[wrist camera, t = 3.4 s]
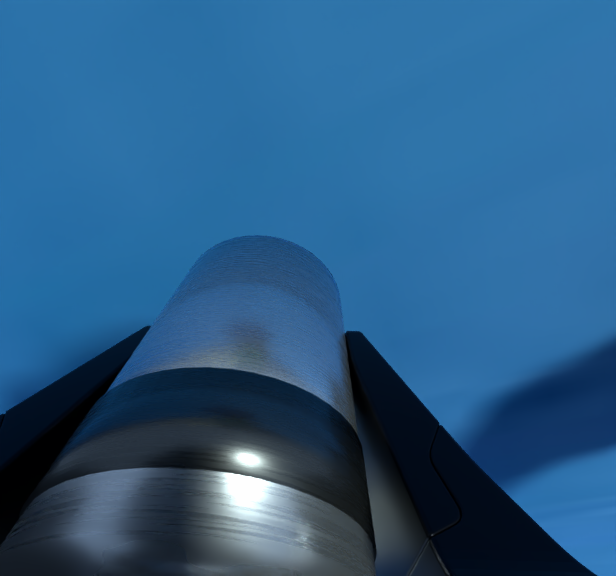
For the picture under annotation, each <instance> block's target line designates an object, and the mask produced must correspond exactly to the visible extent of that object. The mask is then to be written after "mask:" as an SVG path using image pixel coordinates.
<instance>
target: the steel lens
mask: <svg viewBox="0 0 616 576" xmlns="http://www.w3.org/2000/svg"><path fill="white" fill-rule="evenodd" d="M376 555H377V550H376V542H375V535H374V528H373V521H372V514H371V506H370V499H369V492H368V485H367V478H366V470H365V463H364V456H363V449H362V445H361V442H360V440H359V437H358V431H357V424H356V416H355V408H354V401H353V393H352V385H351V378H350V370H349V362H348V355H347V347H346V340H345V332H344V324H343V317H342V309H341V301H340V294H339V290H338V287H337V284H336V282H335V280H334V278H333V276H332V274H331V273H330V271H329V270H328V269H327V267H326V266H325V265H324V264H323V263H322V262H321V261H320V260H319V259H318V258H317V257H316V256H314V255H313V254H312V253H311V252H309V251H307V250H306V249H304V248H303V247H301V246H299V245H297V244H295V243H292V242H289V241H287V240H284V239H280V238H275V237H271V236H260V235H255V236H242V237H236V238H233V239H229V240H226V241H224V242H221V243H219V244H217V245H215V246H213V247H212V248H210V249H209V250H207V251H206V252H205V253H204V254H203V255H202V256H200V257H199V259H198V260H197V261H196V262H195V264H194V265H193V266H192V268H191V269H190V271H189V272H188V274H187V275H186V276H185V278H184V279H183V281H182V282H181V284H180V285H179V287H178V288H177V290H176V291H175V293H174V294H173V295H172V297H171V298H170V300H169V301H168V303H167V304H166V306H165V307H164V309H163V310H162V311H161V313H160V314H159V316H158V317H157V319H156V320H155V322H154V323H153V325H152V326H151V327H150V329H149V330H148V332H147V333H146V335H145V336H144V338H143V339H142V341H141V342H140V343H139V345H138V346H137V348H136V349H135V351H134V352H133V354H132V355H131V357H130V358H129V359H128V361H127V362H126V364H125V365H124V367H123V368H122V370H121V371H120V373H119V374H118V375H117V377H116V378H115V380H114V381H113V383H112V384H111V386H110V387H109V389H108V390H107V391H106V393H105V394H104V395H103V396H102V397H100V398H99V399H98V401H97V402H96V403H95V404H94V405H93V406H92V408H91V409H90V410H89V412H88V413H87V415H86V416H85V418H84V419H83V420H82V422H81V423H80V425H79V426H78V428H77V429H76V430H75V432H74V433H73V435H72V436H71V438H70V439H69V440H68V442H67V443H66V445H65V446H64V448H63V449H62V450H61V452H60V453H59V455H58V456H57V458H56V459H55V460H54V462H53V463H52V465H51V466H50V468H49V469H48V470H47V472H46V473H45V475H44V476H43V478H42V479H41V480H40V482H39V483H38V485H37V486H36V488H35V489H34V490H33V492H32V493H31V495H30V496H29V498H28V499H27V500H26V502H25V503H24V505H23V507H22V509H21V511H20V514H19V520H18V521H17V522H16V524H15V525H14V527H13V528H12V530H11V531H10V533H9V534H8V536H7V537H6V538H5V540H4V541H3V543H2V544H1V546H0V576H376V568H375V560H376Z"/></svg>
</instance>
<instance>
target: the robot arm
mask: <svg viewBox="0 0 616 576" xmlns="http://www.w3.org/2000/svg"><path fill="white" fill-rule="evenodd" d="M150 327H151V326H146V327H144V328H142V329H141V330H139V331H137V332H136V333H134V334H133V335H131V336H129V337H128V338H126V339H124V340H123V341H121V342H119V343H118V344H116V345H114V346H113V347H111V348H110V349H108V350H106V351H105V352H103V353H101V354H100V355H98V356H96V357H95V358H93V359H91V360H90V361H88V362H87V363H85V364H83V365H82V366H80V367H78V368H77V369H75V370H73V371H72V372H70V373H68V374H67V375H65V376H64V377H62V378H60V379H59V380H57V381H55V382H54V383H52V384H50V385H49V386H47V387H45V388H44V389H42V390H41V391H39V392H37V393H36V394H34V395H32V396H31V397H29V398H27V399H26V400H24V401H22V402H21V403H19V404H18V405H16V406H14V407H13V408H11V409H9V410H8V411H6V413H5V414H1V415H0V546H1V544H2V543H3V541H4V540H5V538H6V537H7V536H8V534H9V533H10V531H11V530H12V528H13V527H14V525H15V524H16V522H17V521H18V520H19V514H20V511H21V509H22V507H23V505H24V503H25V502H26V500H27V499H28V498H29V496H30V495H31V493H32V492H33V490H34V489H35V488H36V486H37V485H38V483H39V482H40V480H41V479H42V478H43V476H44V475H45V473H46V472H47V470H48V469H49V468H50V466H51V465H52V463H53V462H54V460H55V459H56V458H57V456H58V455H59V453H60V452H61V450H62V449H63V448H64V446H65V445H66V443H67V442H68V440H69V439H70V438H71V436H72V435H73V433H74V432H75V430H76V429H77V428H78V426H79V425H80V423H81V422H82V420H83V419H84V418H85V416H86V415H87V413H88V412H89V410H90V409H91V408H92V406H93V405H94V404H95V403H96V402H97V401H98V399H99V398H100V397H102V396H103V395H104V394H105V393H106V391H107V390H108V389H109V387H110V386H111V384H112V383H113V381H114V380H115V378H116V377H117V375H118V374H119V373H120V371H121V370H122V368H123V367H124V365H125V364H126V362H127V361H128V359H129V358H130V357H131V355H132V354H133V352H134V351H135V349H136V348H137V346H138V345H139V343H140V342H141V341H142V339H143V338H144V336H145V335H146V333H147V332H148V330H149V329H150ZM345 340H346V347H347V355H348V362H349V370H350V378H351V385H352V393H353V401H354V408H355V416H356V424H357V431H358V437H359V440H360V442H361V445H362V449H363V456H364V463H365V470H366V478H367V485H368V492H369V499H370V506H371V514H372V521H373V528H374V535H375V542H376V550H377V555H376V560H375V568H376V576H597V575H596V574H594V573H593V572H591V571H590V570H589V569H587V568H586V567H585V566H583V565H582V564H581V563H579V562H578V561H577V560H576V559H575V558H573V557H572V556H571V555H570V554H569V553H567V552H566V551H565V550H564V549H563V548H562V547H561V546H560V545H559V544H558V543H557V542H555V541H554V540H553V539H552V538H551V537H550V536H549V535H548V534H547V533H546V532H545V531H544V530H543V529H542V528H541V527H540V526H539V525H538V524H537V523H536V522H535V521H534V520H533V519H532V518H531V517H530V516H529V515H528V514H527V513H526V512H525V511H524V510H523V509H522V508H521V507H520V506H519V505H517V504H516V503H515V502H514V501H513V500H512V499H511V498H510V497H509V496H508V495H507V494H506V493H505V492H504V491H503V490H502V489H501V488H500V487H499V486H498V485H497V484H496V483H495V482H494V481H493V480H492V479H491V478H490V477H489V476H488V475H487V474H486V473H485V472H484V471H483V470H482V469H481V468H480V467H479V466H478V465H477V464H476V463H475V462H474V461H473V460H472V459H471V458H470V457H469V455H468V454H467V453H466V452H465V451H464V450H463V449H462V448H461V447H460V446H459V444H458V443H457V442H456V441H455V440H454V439H453V438H452V437H451V435H450V434H449V433H448V432H447V431H446V430H445V429H444V427H443V426H442V425H439V422H438V421H437V419H436V418H435V417H434V416H433V415H432V414H431V413H430V411H429V410H428V409H427V408H426V407H425V406H424V404H423V403H422V402H421V401H420V400H419V399H418V397H417V396H416V395H415V394H414V393H413V392H412V391H411V389H410V388H409V387H408V386H407V385H406V384H405V382H404V381H403V380H402V379H401V378H400V377H399V375H398V374H397V373H396V372H395V371H394V370H393V369H392V367H391V366H390V365H389V364H388V363H387V362H386V360H385V359H384V358H383V357H382V356H381V355H380V353H379V352H378V351H377V350H376V349H375V348H374V347H373V345H372V344H371V343H370V342H369V341H368V340H367V338H366V337H365V336H364V335H363V334H362V333H361V332H359V331H347V332H346V333H345Z"/></svg>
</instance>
